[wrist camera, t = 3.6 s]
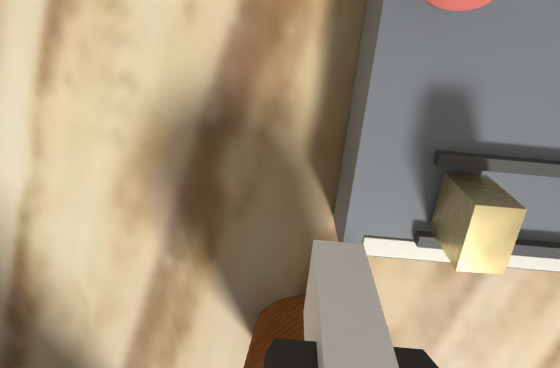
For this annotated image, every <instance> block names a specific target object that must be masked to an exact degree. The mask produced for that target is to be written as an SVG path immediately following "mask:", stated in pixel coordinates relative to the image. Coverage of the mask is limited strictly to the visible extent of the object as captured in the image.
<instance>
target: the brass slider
mask: <svg viewBox="0 0 560 368" xmlns="http://www.w3.org/2000/svg"><path fill="white" fill-rule="evenodd" d="M526 211H527V209H526V208H525V207H524V206H523V205H521V204H520V203H519V202H518V201H517V200H516V199H514V198H513V197H512V196H511V195H510V194H509V193H507V192H506V191H505V190H504V189H503V188H502V187H500V186H499V185H498V184H497V183H496V182H495V181H493V180H492V179H491V178H490V177H489V176H488V175H477V174H466V173H454V172H444V175H443V179H442V183H441V187H440V191H439V194H438V198H437V202H436V206H435V210H434V214H433V218H432V222H431V226H430V230H431V232H432V233H433V235H434V237H435V238H436V240H437V241H438V243H439V245H440V246H441V248H442V249H443V251H444V252H445V254H446V256H447V257H448V259H449V260H450V262H451V264H452V265H453V267H454V268H455V270H456V271H466V272H478V273H490V274H502V275H504V274H505V271H506V268H507V265H508V262H509V259H510V257H511V254H512V251H513V248H514V245H515V242H516V240H517V237H518V234H519V231H520V228H521V225H522V223H523V220H524V217H525V214H526Z"/></svg>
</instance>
